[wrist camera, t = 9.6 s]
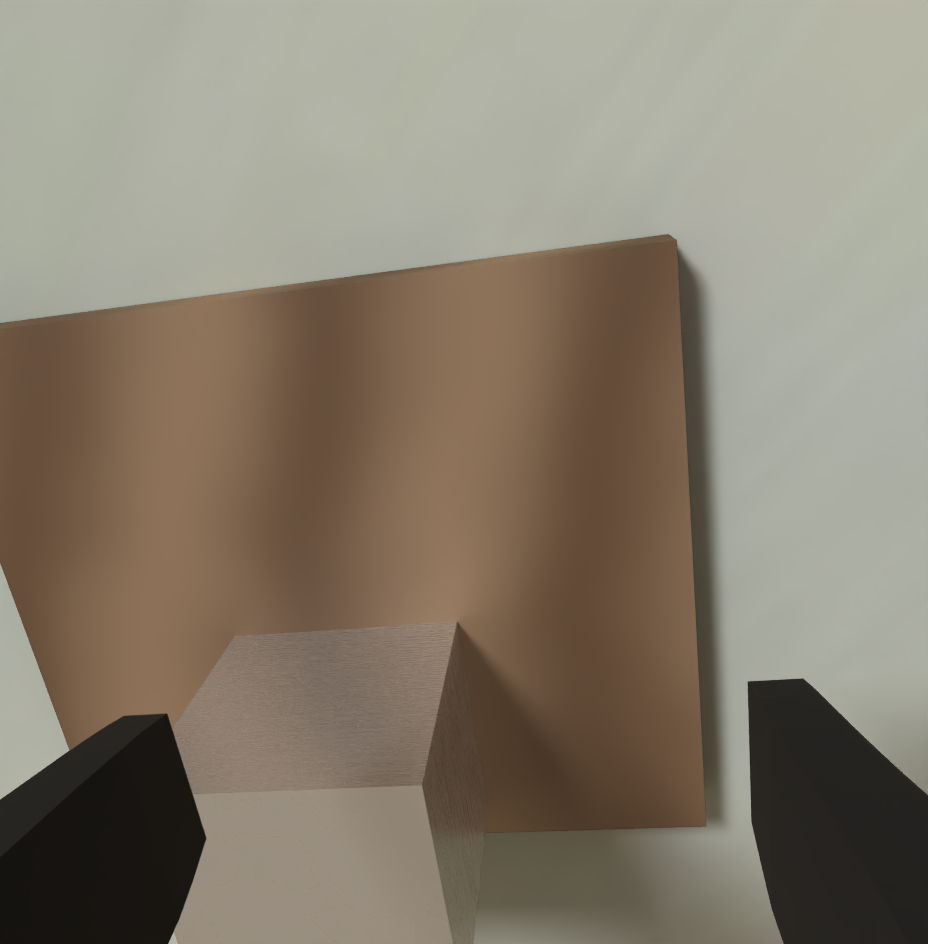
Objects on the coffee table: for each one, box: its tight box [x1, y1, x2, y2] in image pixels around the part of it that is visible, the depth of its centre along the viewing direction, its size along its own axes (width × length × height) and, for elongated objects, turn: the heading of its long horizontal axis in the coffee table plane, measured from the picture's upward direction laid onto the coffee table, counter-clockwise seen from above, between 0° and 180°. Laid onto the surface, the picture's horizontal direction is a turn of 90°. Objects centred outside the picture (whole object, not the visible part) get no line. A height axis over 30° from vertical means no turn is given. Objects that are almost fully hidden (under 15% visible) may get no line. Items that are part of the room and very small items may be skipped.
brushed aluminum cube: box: [172, 622, 488, 944], centre depth 18 cm, size 5×5×5 cm
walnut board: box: [0, 234, 706, 833], centre depth 18 cm, size 16×14×5 cm
